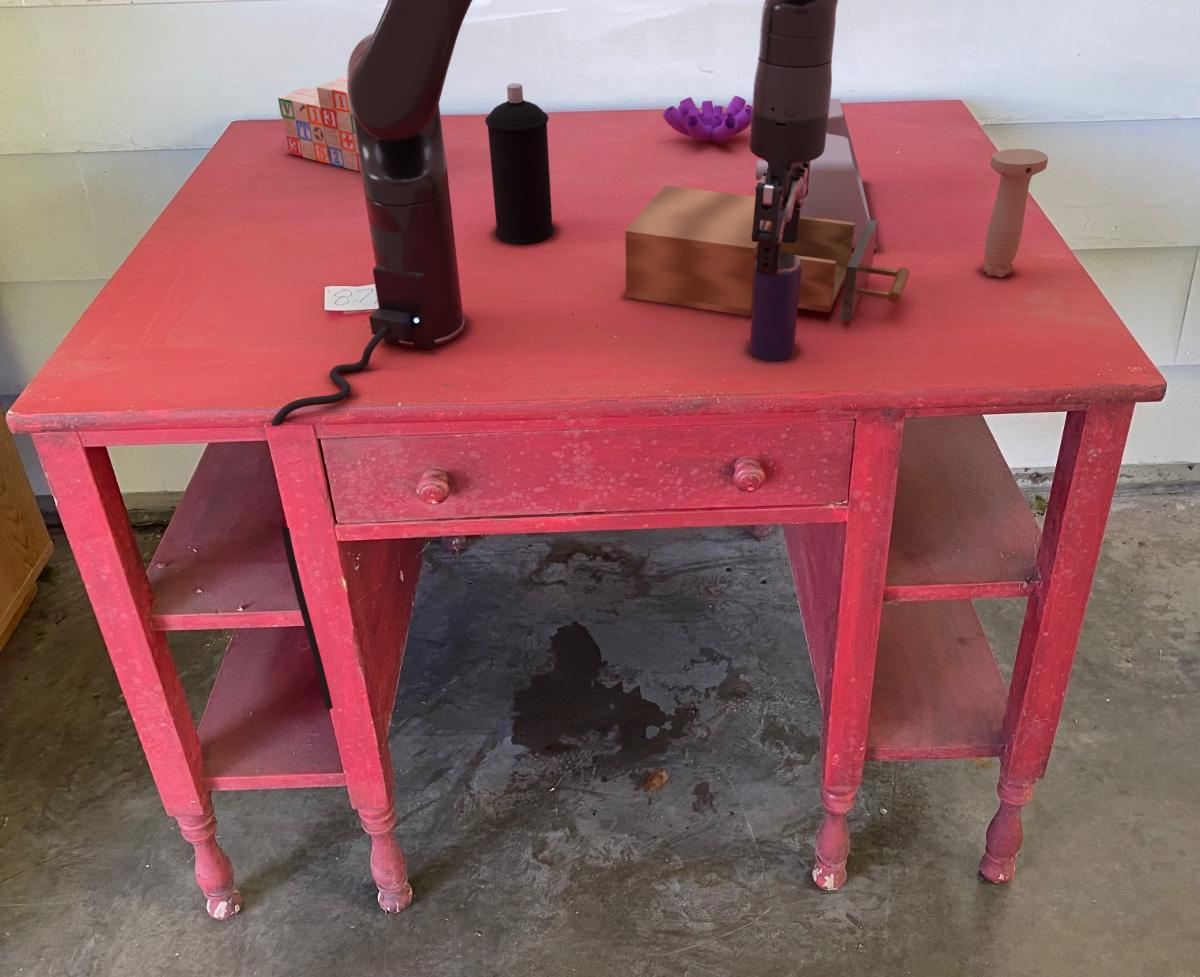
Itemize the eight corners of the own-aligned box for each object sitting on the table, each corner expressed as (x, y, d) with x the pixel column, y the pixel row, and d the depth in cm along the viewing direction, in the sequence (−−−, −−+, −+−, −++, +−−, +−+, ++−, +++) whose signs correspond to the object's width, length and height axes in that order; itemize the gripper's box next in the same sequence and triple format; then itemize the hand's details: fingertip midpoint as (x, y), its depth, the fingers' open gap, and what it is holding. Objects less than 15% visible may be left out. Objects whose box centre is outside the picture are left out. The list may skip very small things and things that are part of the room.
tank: (753, 179, 168) (758, 95, 160) (862, 181, 166) (872, 96, 159) (753, 251, 148) (759, 158, 140) (877, 253, 146) (889, 160, 139)
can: (788, 364, 124) (796, 273, 118) (744, 357, 126) (750, 267, 119) (798, 343, 128) (806, 254, 121) (755, 336, 130) (761, 248, 123)
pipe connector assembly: (754, 163, 182) (761, 128, 173) (662, 164, 182) (664, 130, 173) (752, 103, 185) (758, 66, 176) (661, 104, 186) (663, 67, 176)
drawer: (911, 277, 138) (919, 225, 134) (893, 328, 128) (901, 273, 124) (757, 256, 144) (760, 206, 140) (728, 303, 134) (731, 250, 130)
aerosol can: (546, 246, 150) (537, 96, 139) (487, 243, 152) (474, 94, 140) (560, 222, 157) (553, 76, 145) (504, 218, 158) (492, 74, 146)
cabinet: (780, 264, 144) (785, 199, 139) (750, 316, 133) (754, 248, 128) (663, 248, 149) (664, 185, 144) (626, 297, 138) (625, 230, 133)
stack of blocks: (288, 155, 181) (272, 77, 174) (315, 143, 185) (301, 66, 178) (387, 179, 172) (376, 98, 164) (414, 166, 176) (404, 86, 168)
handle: (1029, 278, 140) (1055, 161, 131) (981, 283, 139) (1004, 166, 130) (1010, 261, 143) (1035, 146, 134) (963, 267, 142) (985, 151, 133)
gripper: (771, 80, 116) (760, 227, 126) (733, 123, 106) (724, 280, 115) (843, 87, 114) (826, 236, 124) (812, 132, 104) (796, 291, 113)
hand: (777, 257), depth 120 cm, fingers open, 8 cm apart
